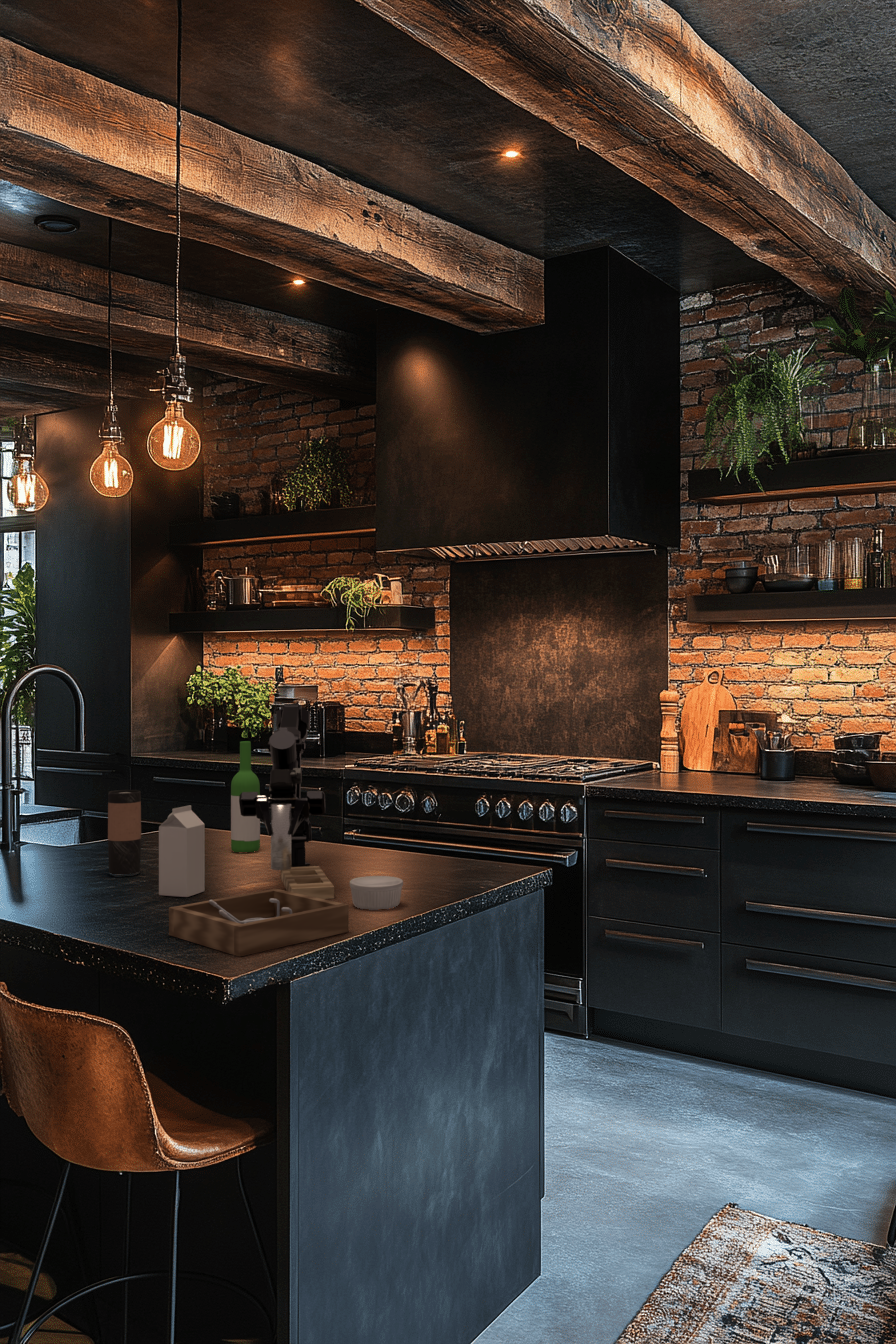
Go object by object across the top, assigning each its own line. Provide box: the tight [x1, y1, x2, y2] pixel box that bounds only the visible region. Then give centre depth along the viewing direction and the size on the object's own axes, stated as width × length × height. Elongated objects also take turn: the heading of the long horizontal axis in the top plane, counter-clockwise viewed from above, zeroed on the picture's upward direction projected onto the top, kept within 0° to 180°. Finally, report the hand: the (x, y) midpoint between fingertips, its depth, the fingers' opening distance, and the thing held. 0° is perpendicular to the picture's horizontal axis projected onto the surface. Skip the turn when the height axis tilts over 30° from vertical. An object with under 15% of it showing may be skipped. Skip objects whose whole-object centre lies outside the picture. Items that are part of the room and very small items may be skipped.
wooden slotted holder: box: [280, 865, 335, 900], centre depth 237 cm, size 26×9×2 cm, turn 14°
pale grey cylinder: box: [270, 803, 292, 871], centre depth 230 cm, size 4×4×14 cm
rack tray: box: [168, 888, 350, 957], centre depth 195 cm, size 22×24×5 cm
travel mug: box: [107, 789, 142, 874], centre depth 254 cm, size 8×8×20 cm
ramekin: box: [349, 875, 404, 911], centre depth 218 cm, size 11×11×5 cm
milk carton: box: [158, 805, 206, 898], centre depth 231 cm, size 7×7×19 cm
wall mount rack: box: [208, 898, 292, 924], centre depth 196 cm, size 16×14×6 cm
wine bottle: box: [230, 740, 261, 853], centre depth 288 cm, size 8×8×30 cm
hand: (280, 834), depth 229 cm, fingers closed on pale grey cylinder, 4 cm apart
